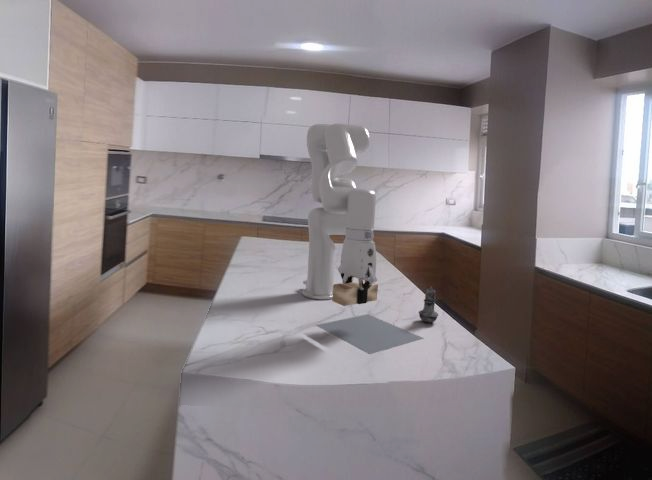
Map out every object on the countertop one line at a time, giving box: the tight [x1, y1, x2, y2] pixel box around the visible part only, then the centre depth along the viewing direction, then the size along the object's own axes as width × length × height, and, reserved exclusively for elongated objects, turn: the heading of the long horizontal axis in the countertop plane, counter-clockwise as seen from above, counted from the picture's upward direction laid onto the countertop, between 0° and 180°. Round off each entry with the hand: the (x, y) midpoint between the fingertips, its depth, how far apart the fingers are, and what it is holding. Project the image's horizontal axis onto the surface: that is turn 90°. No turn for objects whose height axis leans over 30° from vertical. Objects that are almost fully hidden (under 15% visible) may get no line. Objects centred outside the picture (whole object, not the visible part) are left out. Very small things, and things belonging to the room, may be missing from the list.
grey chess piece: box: [418, 285, 439, 325], centre depth 122 cm, size 6×6×12 cm
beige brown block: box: [331, 280, 379, 307], centre depth 112 cm, size 12×5×5 cm, turn 128°
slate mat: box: [316, 314, 424, 355], centre depth 112 cm, size 22×20×1 cm
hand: (354, 299), depth 112 cm, fingers closed on beige brown block, 5 cm apart
